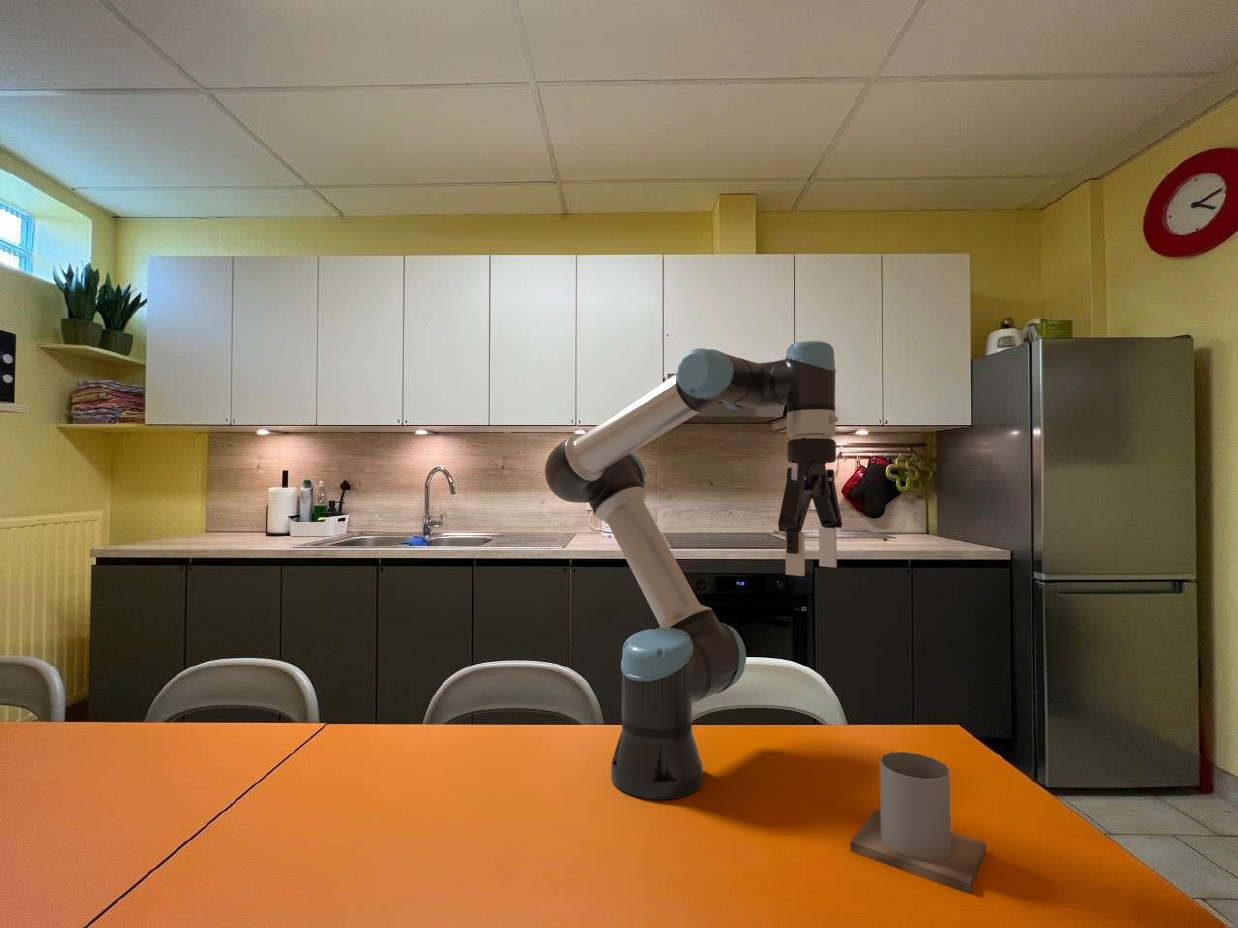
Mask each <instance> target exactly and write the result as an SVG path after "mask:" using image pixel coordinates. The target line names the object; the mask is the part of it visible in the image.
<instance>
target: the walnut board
mask: <svg viewBox="0 0 1238 928" xmlns="http://www.w3.org/2000/svg"><path fill="white" fill-rule="evenodd" d="M849 847H850V848H849V849H850V850H849V851H850V852H853V853H854V854H857V855H860V856H863V857H866V858H868V859H872V860H875V861H877V862H880V863H883V864H886V865H887V866H888V865H889V866H891V867H894V868H897V869H900V870H903V871H905V872H907V873H911V874H913V875H915V876H916V875H917V876H919V877H922V878H924V879H927V880H930V881H933V882H936V883H939V884H941V885H944V886H947V887H950V888H952V889H955V890H959V891H960V892H964V893H966V894H971V891H972V889H973V886H974V884H975V882H976V878H977V876H978V874H979V870H980V868H981V866H982V864H983V861H984V857H985V855H986V852H987V851H986V850H987V849H986V848H987V847H986V842H984V841H980V840H977V839H974V838H970V837H968V836H964V835H961V834H958V833H955V832H952V831H951V851H950V856H948V857H946V858H944V859H942V860H932V861H925V860H920V859H914V858H910V857H907V856H905V855H902V854H900V853H898V852H895V851H894V850H893V849H891V848H890V847H889V846H887V845H886V844H885V843H884V841H883V839H882V837H881V814H880V809H874V810H873V811H872V813H871V815H869V817H868V818H867V819H866V821H865V822H864V823H863V824H862V825H861V827H860V828H859V830H858V831H857V832H856V833H855V835H854V836H853V837H852V839H851V840H850V845H849Z"/></svg>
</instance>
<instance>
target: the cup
mask: <svg viewBox="0 0 1238 928" xmlns="http://www.w3.org/2000/svg"><path fill="white" fill-rule="evenodd" d="M950 772H951V770H950V769H949V768H948V766H947V765H946V764H945V763H944V762H941V761H940V760H937V759H935V758H934V757H931V756H928V755H924V754H921V753H914V752H907V751H898V752H897V751H893V752H888V753H885V754H883V755H882V756H881V758H880V759H879V794H880V796H879V798H880V799H879V801H880V802H879V803H880V805H879V807H880V809H879V810H880V814H881V837H882V839H883V841H884V843H885V844H886V845H887V846H889V847H890V848H891V849H893V850H894V851H895V852H898V853H900V854H902V855H905V856H907V857H910V858H914V859H920V860H925V861H932V860H942V859H944V858H946V857H948V856H950V851H951V832H952V829H951V826H952V822H951V773H950Z"/></svg>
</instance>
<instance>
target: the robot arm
mask: <svg viewBox="0 0 1238 928" xmlns="http://www.w3.org/2000/svg"><path fill="white" fill-rule="evenodd" d="M834 351H835V349H834V347H833V346H832V345H831V344H830V343H827V342H824V341H820V340H808V341H800V342H795V343H793V344H791V345H789V346H788V347H787V348H786V354H785V358H784V359H780V360H774V361H767V362H755V361H753V360H752V361H751V360H748V359H744V358H741V357H737V356H735V355H731V354H727V353H724V352H722V351H719V350H717V349H711V348H709V349H708V348H701V347H700V348H695V349H691V350H689V352H687V353H686V354H685V355H684V356H683V357H682V360H681V362H679V364H678V367H677V371H676V373H675V374H674V375H672V376H671V377H669V378H667V379H666V380H664V381H663V382H660V384H659V385H657V386H656V387H653V388H652V389H651V390H649V391H648V392H645V393H644V394H643V395H641V396H640V397H638V398H637V399H635V400H633V402H631V403H630V404H627V405H626V406H625V407H623V408H622V409H620V410H619V411H617V412H615V413H614V414H613V415H611V416H610V417H608V418H606V419H605V420H603V421H602V422H600V423H599V424H597V425H596V426H594V427H592V428H591V429H590V430H588V431H586V432H585V433H583V434H581V433H575V434H572V435H571V436H569V437H567V438H566V439H564V440H563V441H561V442H560V443H559V444H558V445H556V446H555V448H553V450H552V451H551V452H550V453H549V455H548V457H547V459H546V462H545V466H544V477H545V481H546V483H547V485H548V488H549V489H550V490H551V492H553V494H554V495H555V496H557V497H558V498H559V499H561V500H563V501H565V502H570V503H575V504H577V503H579V504H580V503H587V504H589V505H590V508H591V510H592V512H593V513H594V515H595V518H596V519H598V520H600V521H603V522H607V525H608V527H609V529H610V531H611V533H612V535H613V536H614V539H615V541H616V542H617V545H618V546H619V548H620V550H621V552H622V554H623V556H624V558H625V560H626V562H627V564H628V567H630V570H631V572H632V574H633V575H634V577H635V579H636V581H637V583H638V586H639V587H640V589H641V591H642V593H643V595H644V598H645V599H646V601H647V603H648V605H649V607H650V608H651V610H652V612H653V613H652V614H653V616H654V617H655V618H656V621H657V622H658V625H659V627H658V628H657V627H656V628H655V629H651V628H649V629H644V630H642V631H639V632H636V633H634V634H632V635H631V636H629V637H628V638H627V639H626V640H625V641H624V644H623V646H622V654H621V655H622V659H621V661H620V670H621V731H620V735H619V738H618V741H617V745H616V748H615V751H614V754H613V757H612V759H611V762H610V763H611V765H610V779H611V782H612V784H613V785H614V786H615V787H616V788H617V789H619V790H620V792H621V791H622V792H623V793H626V794H628V795H630V796H634V797H637V798H640V799H641V798H642V799H646V800H647V799H648V800H672V799H673V800H674V799H678V798H682V797H686V796H690V795H691V794H693V793H695V792H696V791H697V790H699V789H700V788H701V787H702V784H703V781H704V773H703V772H704V767H703V762H702V760H701V758H700V754H699V750H698V747H697V744H696V740H695V736H694V734H693V704H694V703H696V702H699V701H701V700H703V699H706V698H708V697H710V696H714V695H716V694H720V693H723V692H724V691H726V690H728V689H730V687H732V686H734V685H735V684H736V683H737V682H738V681H739V680H740V679H741V677H742V675H743V674H744V672H745V667H746V662H747V652H746V646H745V644H744V641H743V639H742V637H741V635H740V634H739V632H738V631H737V630H736V629H735V628H733V627H732V625H731V626H730V625H727V624H726V623H723V622H720V621H719V619H718V618H717V616H716V614H715V612H714V611H713V609H712V608H711V607H708V606H706V605H704V604H703V605H702V604H701V603H700V602H699V600H698V599H697V597H696V596H697V595H695V593H694V592H693V589H692V588H691V585H690V584H689V582H688V579H687V578H686V576H685V574H684V573H683V571H682V569H681V567H680V565H679V564H678V562H677V560H676V558H675V556H674V555H673V553H672V551H671V549H670V548H669V546H668V543H667V542H666V540H665V538H664V537H663V535H662V533H661V531H660V529H659V527H658V526H657V524H656V522H655V520H654V518H653V516H652V514H651V512H650V511H649V509H648V507H647V506H646V503H645V499H646V497H647V490H646V483H647V481H646V480H645V478H646V477H647V473H646V470H645V466H644V464H643V462H642V461H641V459H640V458H639V457H638V456H637V455H636V454H635V453H634V452H636V451H637V450H639V449H641V448H642V447H644V446H645V445H647V444H649V443H650V442H652V441H654V440H656V439H657V438H659V437H661V436H662V435H665V434H666V433H667V432H669V431H671V430H672V429H674V428H676V427H677V426H680V425H682V424H683V423H684V422H686V421H688V420H689V419H691V418H693V417H694V416H696V415H698V414H700V413H701V412H704V411H705V410H707V409H709V408H710V407H711V406H713V405H715V404H717V403H720V402H721V403H724V404H725V407H727V408H728V409H730V410H745V411H746V410H750V409H757V408H764V407H765V408H767V407H773V406H786V408H787V409H786V436H787V437H788V438H790V439H789V440H788V442H787V443H786V444H787V450H786V451H787V454H786V456H787V458H786V459H787V462H789V464H796V466H793V467H792V466H791V467H787V469H786V482H785V483H786V484H785V488H784V492H783V498H782V502H781V508H780V512H779V517H778V523H777V525H778V531H779V532H783V533H785V534H784V535H785V575H787V576H788V575H789V576H798V577H804V576H805V575H806V574H805V573H806V572H805V571H806V568H805V563H806V561H805V558H806V557H805V554H806V553H805V552H806V551H805V550H806V549H805V532H803V531H802V530H803V526H804V523H805V520H806V517H807V513H808V511H809V508H810V504H811V501H813V504H814V507H815V511H816V514H817V515H818V516H817V517H818V519H819V522H820V525H821V527H819V528H818V552H819V553H818V555H819V556H818V560H819V561H818V565H819V566H818V567H823V568H824V567H826V568H837V567H838V563H837V559H838V558H837V556H838V555H837V554H838V553H837V528H839V529H842V527H843V522H842V514H841V510H840V504H839V500H838V495H837V489H836V483H835V471H834V469H833V468H832V469H831V468H830V469H827V468H826V464H832V463H835V462H836V461H837V447H836V446H837V442H836V441H835V439H833V438H832V437H834V436H835V435H836V423H837V422H839V417H838V416H836V373H837V370H836V363H835V361H836V360H835V352H834Z"/></svg>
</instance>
